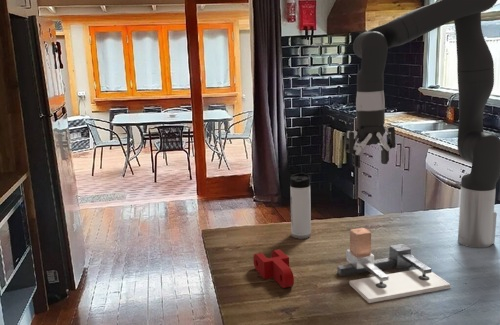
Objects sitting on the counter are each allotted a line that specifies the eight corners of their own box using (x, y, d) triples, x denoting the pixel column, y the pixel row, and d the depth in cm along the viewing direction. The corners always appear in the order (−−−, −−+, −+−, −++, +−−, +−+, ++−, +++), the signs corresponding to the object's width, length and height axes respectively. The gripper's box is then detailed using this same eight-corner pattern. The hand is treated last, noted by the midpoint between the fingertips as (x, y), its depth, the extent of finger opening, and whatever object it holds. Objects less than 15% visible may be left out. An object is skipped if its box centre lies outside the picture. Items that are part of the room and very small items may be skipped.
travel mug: (313, 232, 160) (312, 173, 156) (308, 239, 154) (307, 178, 150) (294, 231, 162) (293, 172, 158) (289, 238, 156) (287, 177, 152)
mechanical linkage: (253, 268, 136) (253, 251, 135) (277, 263, 139) (277, 246, 137) (276, 293, 122) (276, 274, 120) (302, 287, 124) (302, 269, 123)
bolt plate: (425, 271, 130) (425, 267, 129) (450, 288, 120) (450, 283, 120) (349, 284, 124) (349, 280, 124) (369, 303, 115) (369, 298, 114)
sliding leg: (363, 260, 134) (363, 226, 132) (393, 284, 120) (394, 247, 118) (346, 262, 133) (346, 228, 131) (375, 288, 119) (376, 250, 116)
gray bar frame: (408, 259, 137) (408, 242, 136) (441, 281, 123) (442, 263, 122) (335, 271, 132) (335, 253, 131) (361, 296, 118) (362, 276, 117)
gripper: (385, 104, 139) (385, 160, 143) (340, 108, 135) (341, 166, 139) (401, 106, 132) (400, 165, 136) (353, 111, 128) (354, 171, 132)
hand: (370, 165), depth 137 cm, fingers open, 8 cm apart
